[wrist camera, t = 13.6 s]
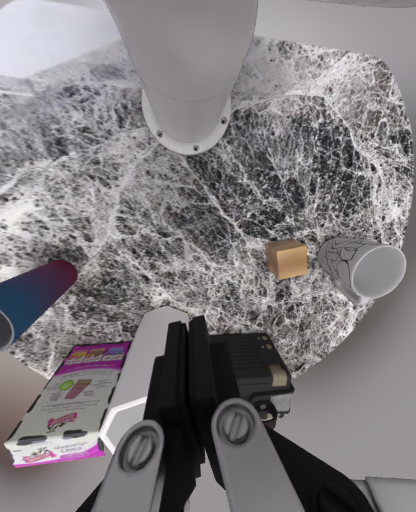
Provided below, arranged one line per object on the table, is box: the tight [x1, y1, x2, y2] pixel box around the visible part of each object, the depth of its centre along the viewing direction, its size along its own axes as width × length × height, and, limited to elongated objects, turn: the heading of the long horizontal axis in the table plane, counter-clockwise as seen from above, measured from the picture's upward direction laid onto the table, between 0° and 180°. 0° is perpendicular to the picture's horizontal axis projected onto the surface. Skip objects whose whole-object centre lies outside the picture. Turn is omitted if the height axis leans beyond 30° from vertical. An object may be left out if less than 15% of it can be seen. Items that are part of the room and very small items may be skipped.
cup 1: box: [0, 260, 77, 352], centre depth 28 cm, size 7×7×15 cm
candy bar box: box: [4, 342, 131, 468], centre depth 33 cm, size 11×5×16 cm, turn 91°
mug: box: [318, 238, 406, 305], centre depth 35 cm, size 11×8×10 cm
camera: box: [209, 334, 294, 429], centre depth 37 cm, size 11×14×15 cm
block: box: [265, 239, 308, 280], centre depth 36 cm, size 5×5×5 cm
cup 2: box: [99, 306, 190, 454], centre depth 32 cm, size 11×11×18 cm
